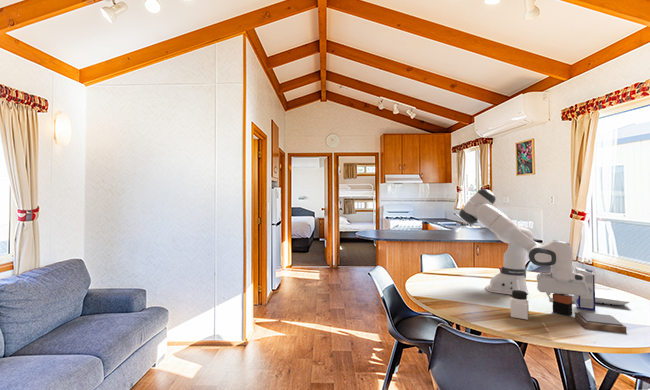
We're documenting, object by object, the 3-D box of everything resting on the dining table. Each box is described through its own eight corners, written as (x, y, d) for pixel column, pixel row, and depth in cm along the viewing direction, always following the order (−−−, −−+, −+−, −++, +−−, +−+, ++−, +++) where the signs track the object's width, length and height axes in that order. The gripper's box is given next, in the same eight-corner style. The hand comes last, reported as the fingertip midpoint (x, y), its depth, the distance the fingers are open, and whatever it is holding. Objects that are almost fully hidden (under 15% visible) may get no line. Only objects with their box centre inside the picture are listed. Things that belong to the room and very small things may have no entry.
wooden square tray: (585, 328, 143) (585, 321, 143) (574, 317, 156) (574, 310, 156) (626, 333, 138) (626, 325, 138) (612, 321, 151) (612, 314, 151)
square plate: (565, 301, 182) (565, 293, 182) (557, 288, 206) (557, 282, 206) (630, 308, 169) (630, 300, 169) (614, 294, 194) (613, 287, 194)
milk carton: (575, 305, 174) (575, 266, 174) (591, 306, 171) (591, 267, 171) (578, 309, 168) (578, 269, 168) (595, 311, 164) (594, 270, 165)
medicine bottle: (528, 320, 153) (528, 293, 153) (510, 317, 157) (510, 291, 157) (528, 315, 159) (528, 290, 159) (511, 312, 163) (511, 288, 163)
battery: (568, 316, 157) (567, 295, 157) (552, 312, 163) (552, 291, 163) (572, 314, 159) (572, 293, 159) (556, 310, 165) (556, 290, 165)
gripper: (538, 273, 162) (538, 302, 162) (589, 277, 155) (590, 307, 154) (535, 271, 168) (535, 298, 168) (585, 274, 160) (585, 303, 160)
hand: (562, 302), depth 161 cm, fingers closed on battery, 8 cm apart
